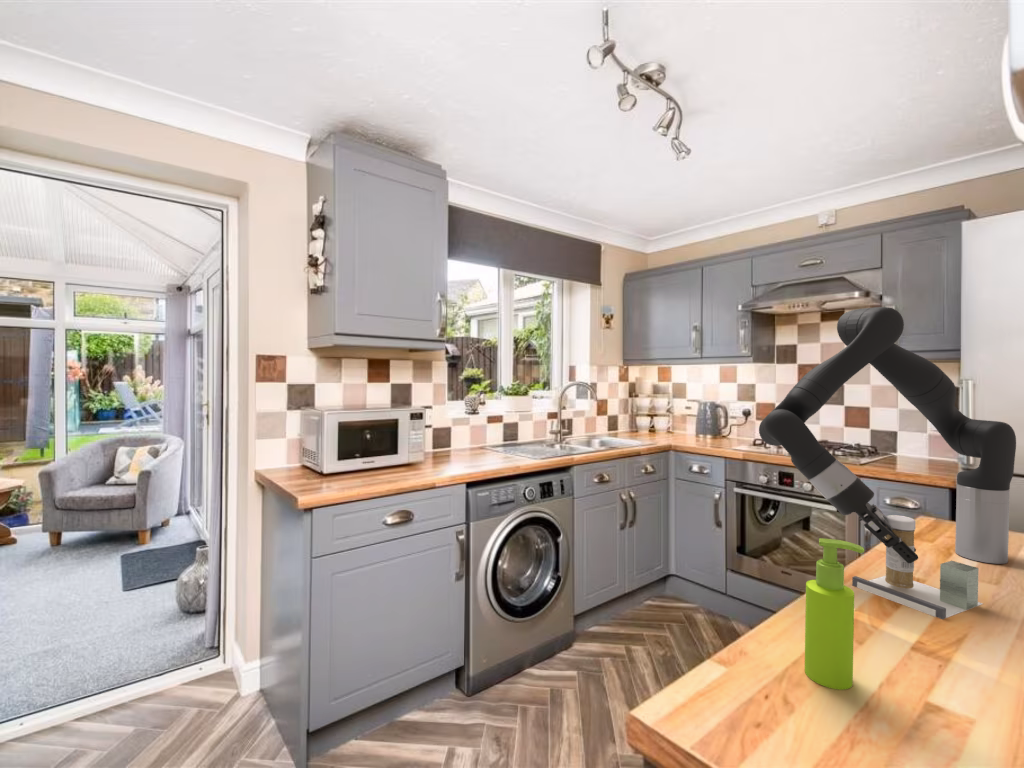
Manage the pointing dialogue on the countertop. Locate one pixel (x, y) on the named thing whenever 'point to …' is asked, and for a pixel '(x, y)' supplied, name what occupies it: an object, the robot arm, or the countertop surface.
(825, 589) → the soap dispenser
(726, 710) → the countertop surface
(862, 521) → the robot arm
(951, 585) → the tea tin
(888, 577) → the spice jar
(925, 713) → the countertop surface
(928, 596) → the tray
